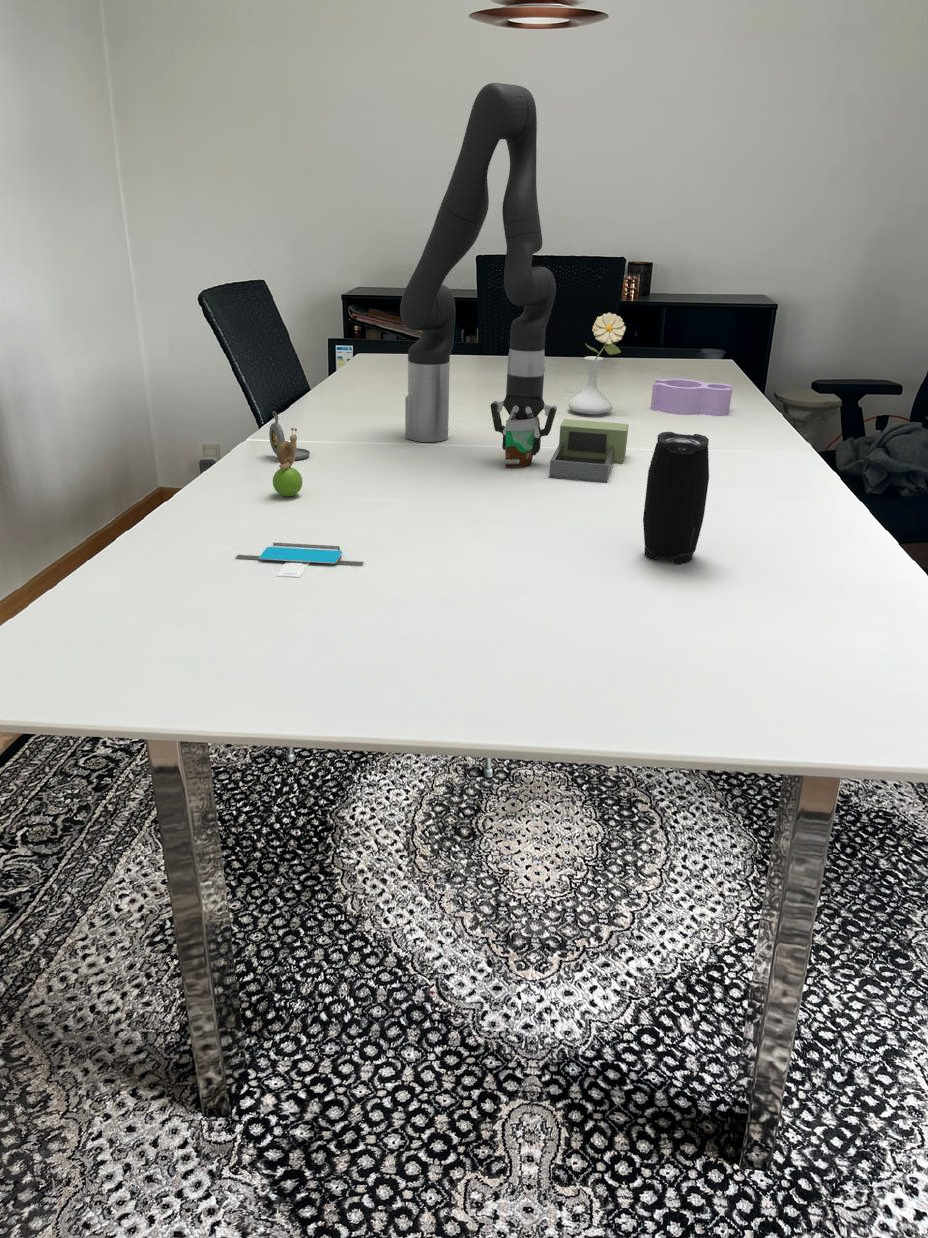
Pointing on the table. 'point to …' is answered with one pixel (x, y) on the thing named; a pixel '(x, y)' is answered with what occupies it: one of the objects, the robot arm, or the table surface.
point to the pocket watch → (283, 439)
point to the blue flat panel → (300, 557)
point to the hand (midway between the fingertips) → (521, 452)
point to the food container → (520, 441)
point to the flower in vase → (591, 397)
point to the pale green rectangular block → (593, 439)
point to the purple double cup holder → (691, 397)
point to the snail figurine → (287, 469)
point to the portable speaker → (676, 496)
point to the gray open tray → (580, 466)
